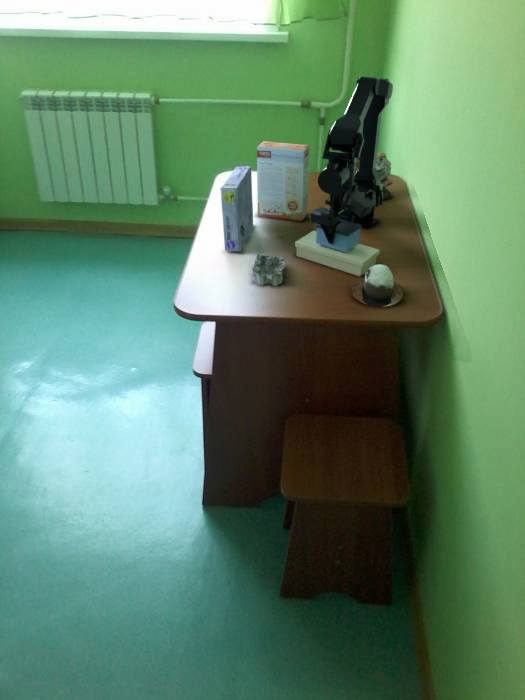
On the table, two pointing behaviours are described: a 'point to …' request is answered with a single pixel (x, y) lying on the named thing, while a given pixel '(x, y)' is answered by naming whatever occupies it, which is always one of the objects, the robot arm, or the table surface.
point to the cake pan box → (237, 208)
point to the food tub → (341, 236)
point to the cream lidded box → (337, 255)
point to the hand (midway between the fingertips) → (337, 239)
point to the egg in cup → (377, 288)
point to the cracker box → (282, 180)
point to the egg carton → (268, 269)
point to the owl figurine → (381, 172)
